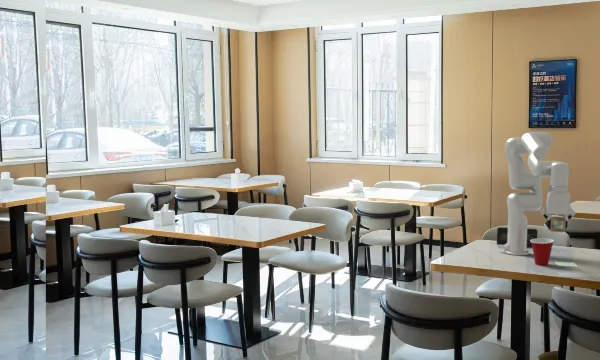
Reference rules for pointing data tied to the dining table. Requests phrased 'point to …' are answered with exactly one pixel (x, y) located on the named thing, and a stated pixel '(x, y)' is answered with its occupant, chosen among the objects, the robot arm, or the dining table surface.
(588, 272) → the dining table surface
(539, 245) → the plastic cup
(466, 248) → the dining table surface
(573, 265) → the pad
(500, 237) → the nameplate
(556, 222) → the letter block
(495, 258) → the dining table surface
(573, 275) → the grey pad
